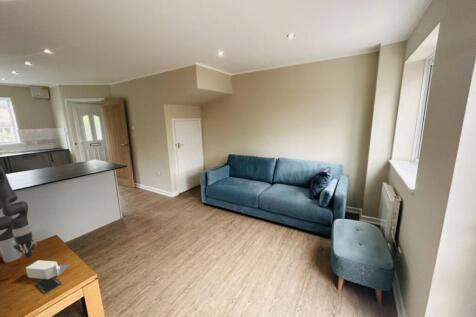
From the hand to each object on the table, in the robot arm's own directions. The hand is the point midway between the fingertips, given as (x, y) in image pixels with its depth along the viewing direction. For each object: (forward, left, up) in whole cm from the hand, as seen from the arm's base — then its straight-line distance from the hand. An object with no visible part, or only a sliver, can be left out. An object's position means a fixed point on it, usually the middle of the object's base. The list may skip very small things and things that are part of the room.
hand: (29, 257), depth 126 cm
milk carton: (+2, 0, -8) cm, 8 cm away
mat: (+10, +6, -12) cm, 17 cm away
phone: (+22, -1, -13) cm, 26 cm away
